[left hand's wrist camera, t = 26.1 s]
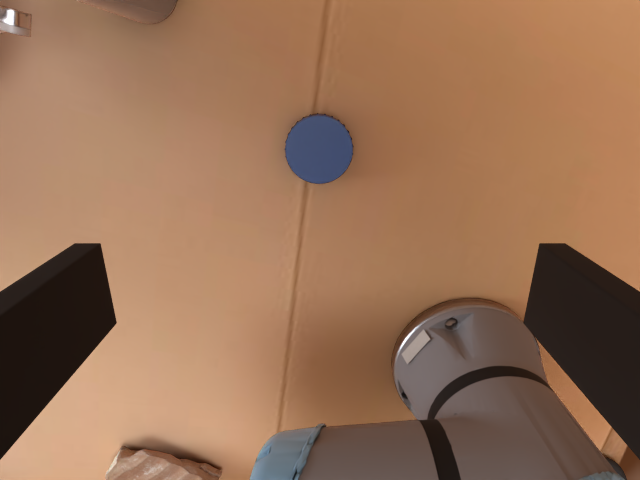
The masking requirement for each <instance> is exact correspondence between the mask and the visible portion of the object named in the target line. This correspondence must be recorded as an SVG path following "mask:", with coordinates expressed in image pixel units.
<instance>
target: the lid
mask: <svg viewBox="0 0 640 480" xmlns="http://www.w3.org/2000/svg"><path fill="white" fill-rule="evenodd" d="M291 129H292V130H291V132H290V133H289V134H288V138H287V140H286V142H285V143H286V148H285V152H286V158H287V161H288V164H289V166H290V168H291V169H292V171H293V172H294V173H295V174H296V175H297V176H299V177H300V178H301V179H303V180H305V181H307V182H310V183H316V184H322V183H328V182H331V181H333V180H335V179H337V178H338V177H340V176H341V175H342V174H343V173H344V172H345V171H346V169H347V168H348V166H349V164H350V162H351V159H352V155H353V145H352V141H351V140H352V138H351V137H350V135H349V131H348V130H346V128H345V125H344V124H342V123H340V122H339V120H337V119H335V118H333V116H328V115H326V114H324V115H323V114H318V113H317V114H316V115H311V114H310V116H308V117H305V118H304V117H303V119H302V120H300V121H299V122H298V121H297V124H296V125H295V126H294V127H292V128H291Z"/></svg>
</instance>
